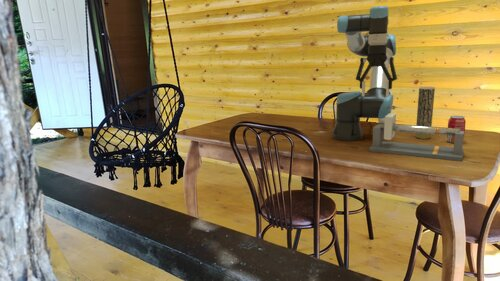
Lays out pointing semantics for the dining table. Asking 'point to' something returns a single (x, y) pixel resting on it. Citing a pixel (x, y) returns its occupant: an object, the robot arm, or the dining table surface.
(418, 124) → the wooden log
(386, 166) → the dining table surface
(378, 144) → the pipe stand
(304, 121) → the dining table surface
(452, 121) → the soda can
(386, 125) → the collar
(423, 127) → the pipe
